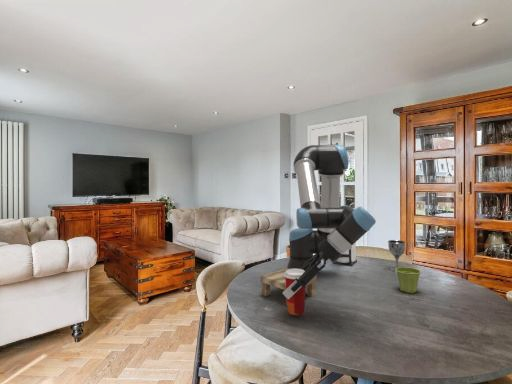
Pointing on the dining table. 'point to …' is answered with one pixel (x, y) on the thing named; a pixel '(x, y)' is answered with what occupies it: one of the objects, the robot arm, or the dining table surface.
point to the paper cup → (298, 299)
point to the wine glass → (396, 250)
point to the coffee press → (348, 256)
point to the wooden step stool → (282, 283)
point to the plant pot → (408, 279)
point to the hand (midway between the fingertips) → (286, 291)
